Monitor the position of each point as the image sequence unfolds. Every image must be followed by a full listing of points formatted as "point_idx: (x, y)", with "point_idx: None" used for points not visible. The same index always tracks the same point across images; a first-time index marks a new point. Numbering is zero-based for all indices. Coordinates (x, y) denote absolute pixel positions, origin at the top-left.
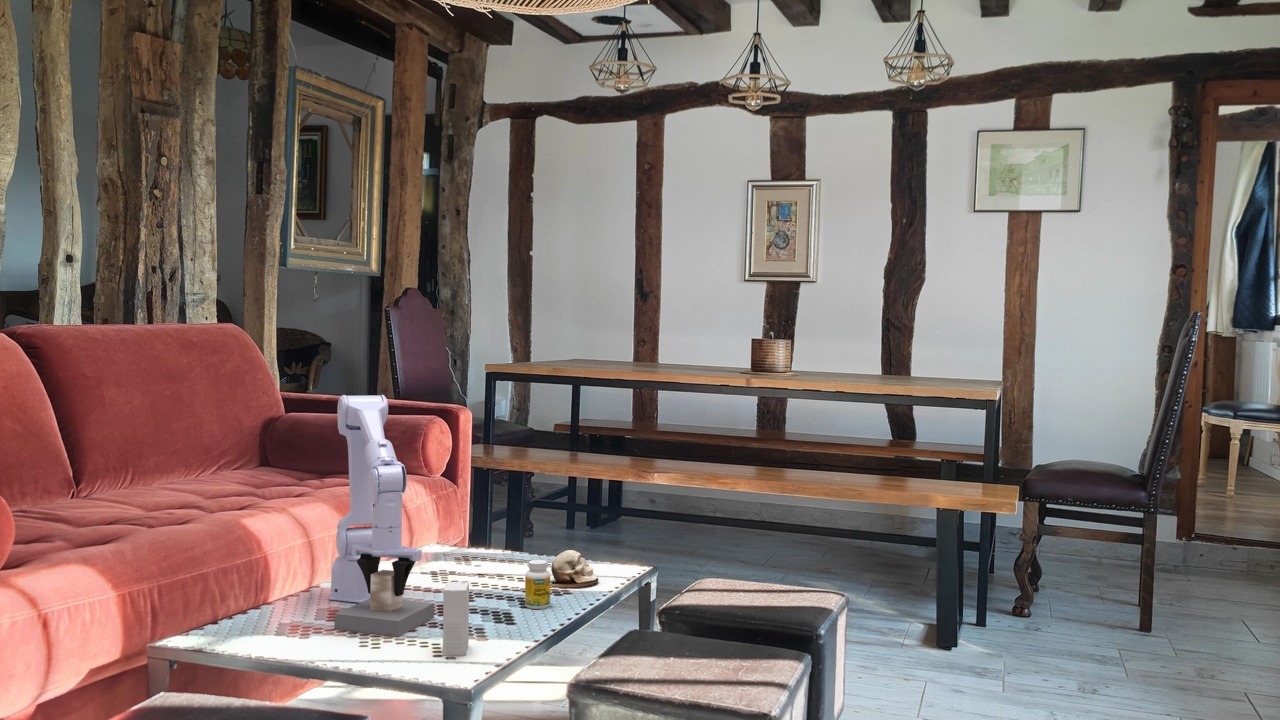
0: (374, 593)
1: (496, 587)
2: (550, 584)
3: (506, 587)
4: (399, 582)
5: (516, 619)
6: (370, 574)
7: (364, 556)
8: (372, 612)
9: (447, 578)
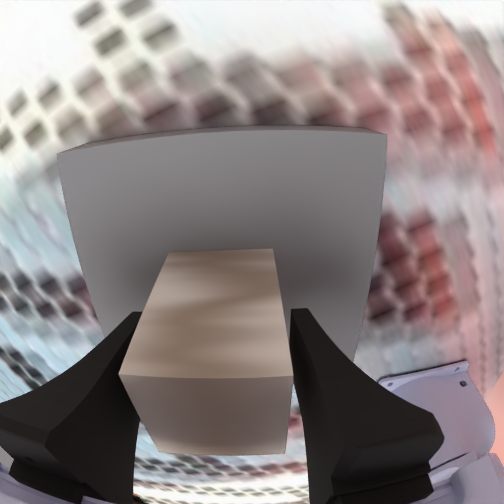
0: (253, 293)
1: (189, 488)
2: (135, 494)
3: (176, 488)
4: (89, 353)
5: (11, 372)
6: (313, 388)
7: (396, 488)
8: (235, 215)
9: (294, 494)
